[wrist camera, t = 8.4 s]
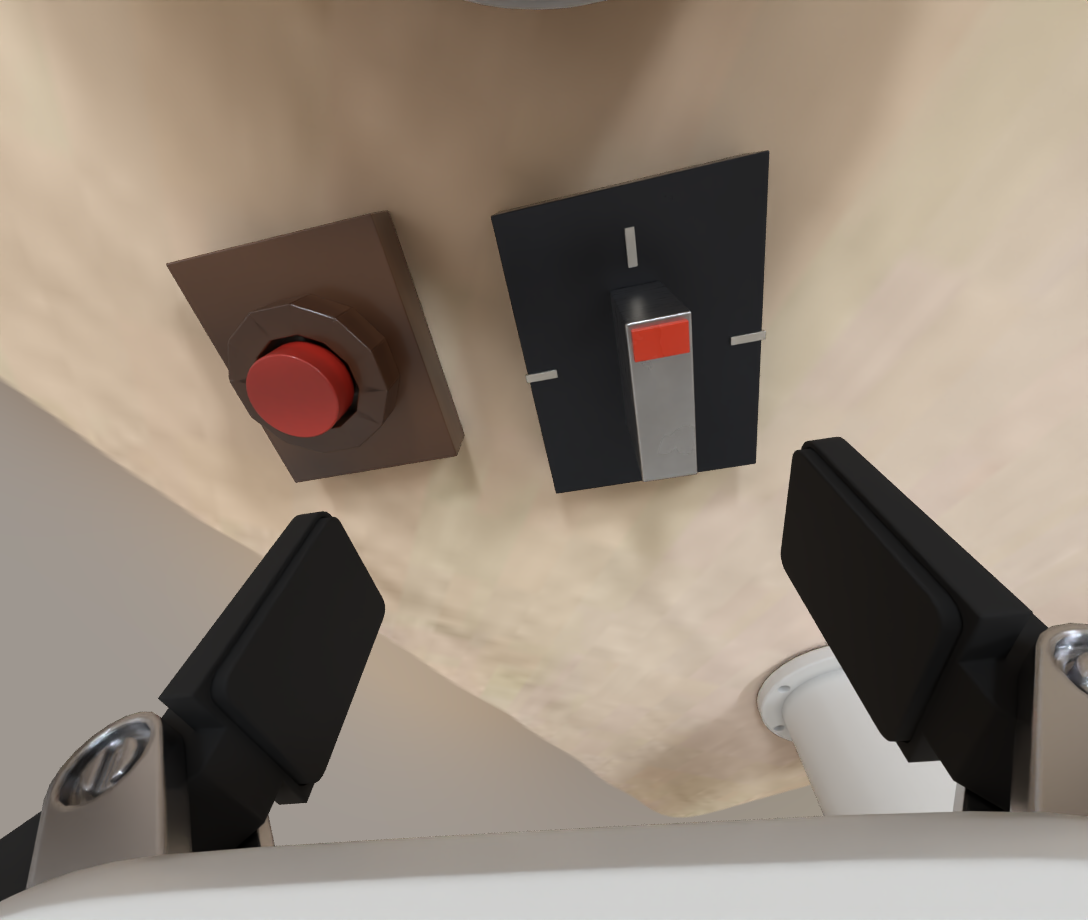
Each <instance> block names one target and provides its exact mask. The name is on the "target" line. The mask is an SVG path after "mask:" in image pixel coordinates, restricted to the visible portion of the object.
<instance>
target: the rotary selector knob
mask: <svg viewBox="0 0 1088 920" xmlns="http://www.w3.org/2000/svg"><path fill="white" fill-rule="evenodd" d="M610 298H611V306H612V313H613V321H614V329H615V337H616V345H617V353H618V361H619V369H620V377H621V385H622V393H623V401H624V409H625V417H626V423H627V427H628V430H629V434H630V438H631V441H632V445H633V448H634V452H635V455H636V459H637V463H638V466H639V470H640V473H641V477H642V480H643V482H647V481H654V480H661V479H667V478H674V477H681V476H687V475H694V474H697V456H696V429H695V402H694V375H693V347H692V320H691V311H690V310H689V309H688V308H687V307H686V306H685V305H684V304H683V303H682V302H681V301H680V300H678V299H677V298H676V297H675V296H674V295H673V294H672V293H671V292H670V291H669V290H668V289H667V288H666V287H665V286H664V285H663V284H662V283H661V282H660V281H655V282H650V283H646V284H641V285H636V286H631V287H626V288H621V289H617V290H612V291H610Z"/></svg>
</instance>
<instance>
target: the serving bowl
mask: <svg viewBox="0 0 1088 920" xmlns="http://www.w3.org/2000/svg"><path fill="white" fill-rule="evenodd" d="M465 1H469V2H473V3H477V4H482V5H487V6H494V7H500V8H510V9H531V10H541V9H559V8H570V7H576V6H582V5H587V4H592V3H597V2H602V1H606V0H465Z"/></svg>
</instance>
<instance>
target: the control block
mask: <svg viewBox="0 0 1088 920" xmlns="http://www.w3.org/2000/svg"><path fill="white" fill-rule="evenodd" d="M166 265H167V267H168V269H169V270H170V272H171V274H172V275H173V277H174V279H175V281H176V282H177V284H178V286H179V287H180V289H181V291H182V292H183V294H184V296H185V297H186V299H187V301H188V302H189V304H190V306H191V307H192V309H193V311H194V313H195V314H196V316H197V318H198V319H199V321H200V323H201V324H202V326H203V328H204V329H205V331H206V333H207V334H208V336H209V338H210V339H211V341H212V343H213V345H214V346H215V348H216V350H217V351H218V353H219V355H220V356H221V358H222V360H223V361H224V363H225V365H226V366H227V368H228V370H229V379H230V383H231V384H232V386H233V388H234V389H235V391H236V393H237V394H238V396H239V398H240V399H241V401H242V403H243V404H244V406H245V408H246V409H247V411H248V413H249V414H250V416H251V417H252V418H253V419H254V420H256V421H257V422H258V423H260V424H261V425H262V427H263V429H264V430H265V432H266V434H267V435H268V437H269V439H270V440H271V442H272V444H273V446H274V447H275V449H276V451H277V452H278V454H279V456H280V457H281V459H282V461H283V462H284V464H285V466H286V467H287V469H288V471H289V472H290V474H291V476H292V477H293V479H294V481H295V482H296V483H297V482H303V481H309V480H315V479H321V478H327V477H333V476H339V475H345V474H351V473H357V472H363V471H369V470H375V469H381V468H387V467H393V466H399V465H405V464H411V463H417V462H423V461H429V460H435V459H441V458H447V457H453V456H457V454H458V451H459V449H460V446H461V443H462V441H463V438H464V432H463V429H462V427H461V424H460V421H459V418H458V415H457V412H456V409H455V406H454V403H453V400H452V397H451V394H450V391H449V388H448V385H447V382H446V379H445V376H444V373H443V370H442V367H441V364H440V361H439V358H438V355H437V352H436V349H435V347H434V344H433V341H432V338H431V335H430V332H429V329H428V326H427V323H426V320H425V317H424V314H423V311H422V308H421V305H420V302H419V299H418V296H417V293H416V290H415V287H414V284H413V281H412V278H411V275H410V272H409V269H408V267H407V264H406V261H405V258H404V255H403V252H402V249H401V246H400V243H399V240H398V237H397V234H396V231H395V228H394V225H393V222H392V219H391V216H390V213H389V211H381V212H375V213H370V214H365V215H361V216H357V217H353V218H349V219H345V220H341V221H337V222H333V223H329V224H325V225H321V226H317V227H313V228H309V229H304V230H300V231H296V232H292V233H288V234H284V235H280V236H276V237H272V238H268V239H264V240H260V241H256V242H252V243H248V244H243V245H239V246H235V247H231V248H227V249H223V250H219V251H215V252H211V253H207V254H203V255H199V256H195V257H191V258H187V259H183V260H178V261H174V262H170V263H167V264H166ZM294 341H304V342H310V343H314V344H317V345H320V346H322V347H324V348H326V349H328V350H329V351H331V352H332V353H333V354H335V355H336V356H337V357H338V358H339V359H340V360H341V361H342V362H343V363H344V365H345V366H346V368H347V369H348V371H349V373H350V375H351V377H352V380H353V384H354V398H353V402H352V404H351V406H350V408H349V409H348V410H347V412H346V413H345V414H344V415H343V416H342V417H341V418H340V419H339V420H338V421H337V422H336V424H335V425H334V426H333V427H332V428H331V429H330V430H328V431H327V432H325V433H324V434H321V435H319V436H315V437H296V436H292V435H288V434H285V433H283V432H281V431H279V430H277V429H275V428H274V427H272V426H271V425H269V424H268V423H267V422H266V421H264V420H263V419H262V418H261V417H260V415H259V414H258V413H257V412H256V410H255V409H254V407H253V406H252V404H251V402H250V400H249V397H248V394H247V390H246V378H247V374H248V372H249V369H250V368H251V366H252V365H253V364H254V363H255V362H256V361H257V360H258V359H260V358H261V357H263V356H265V355H266V354H268V353H270V352H271V351H273V350H275V349H277V348H278V347H280V346H282V345H284V344H286V343H289V342H294Z"/></svg>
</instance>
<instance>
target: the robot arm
mask: <svg viewBox="0 0 1088 920" xmlns="http://www.w3.org/2000/svg"><path fill="white" fill-rule="evenodd" d="M781 560H782V564H783V567H784V569H785V571H786V573H787V575H788V576H789V578H790V580H791V582H792V583H793V585H794V587H795V588H796V590H797V592H798V594H799V595H800V597H801V599H802V601H803V602H804V604H805V606H806V607H807V609H808V611H809V613H810V614H811V616H812V618H813V619H814V621H815V623H816V625H817V626H818V628H819V630H820V631H821V633H822V635H823V637H824V638H825V640H826V642H827V643H828V645H829V646H825V647H822V648H819V649H815V650H812V651H809V652H807V653H805V654H802V655H800V656H797V657H796V658H794V659H792V660H790V661H788V662H787V663H785V664H783V665H782V666H781V667H779V668H778V669H777V670H775V671H774V672H773V673H772V674H771V675H770V676H769V677H768V678H767V679H766V681H765V682H764V683H763V685H762V687H761V689H760V690H759V693H758V697H757V705H758V710H759V712H760V715H761V718H762V720H763V722H764V724H765V725H766V726H767V728H768V729H769V730H770V731H772V732H773V733H774V734H776V735H778V736H780V737H782V738H784V739H786V740H789V741H792V742H793V743H794V745H795V748H796V750H797V753H798V755H799V757H800V760H801V762H802V765H803V767H804V769H805V772H806V774H807V777H808V779H809V781H810V784H811V786H812V788H813V791H814V793H815V796H816V798H817V800H818V803H819V805H820V807H821V810H822V812H823V815H824V816H813V817H795V818H794V817H793V818H774V819H753V820H735V821H734V820H733V821H713V822H693V823H674V824H653V825H634V826H616V827H597V828H581V829H580V828H579V829H560V830H542V831H526V832H506V833H488V834H473V835H472V834H471V835H452V836H435V837H418V838H403V839H402V838H401V839H384V840H368V841H351V842H335V843H318V844H303V845H285V846H275V845H274V840H273V835H272V830H271V826H270V821H269V816H268V814H269V812H270V809H271V807H272V805H273V803H274V801H276V802H277V803H278V804H279V805H281V804H295V803H307V801H308V798H309V796H310V793H311V790H312V788H313V785H314V783H316V782H318V781H319V780H320V779H321V777H322V776H323V774H324V772H325V770H326V767H327V765H328V762H329V759H330V757H331V754H332V752H333V749H334V746H335V743H336V741H337V738H338V736H339V733H340V730H341V728H342V725H343V723H344V720H345V717H346V715H347V712H348V710H349V707H350V704H351V702H352V699H353V696H354V694H355V691H356V689H357V686H358V683H359V681H360V678H361V675H362V673H363V670H364V668H365V665H366V662H367V660H368V657H369V654H370V652H371V649H372V646H373V644H374V641H375V639H376V636H377V633H378V631H379V628H380V626H381V623H382V620H383V618H384V614H385V604H384V600H383V598H382V596H381V594H380V593H379V591H378V589H377V587H376V585H375V584H374V582H373V580H372V578H371V576H370V575H369V573H368V571H367V569H366V567H365V566H364V564H363V562H362V560H361V558H360V557H359V555H358V553H357V551H356V549H355V548H354V546H353V544H352V542H351V540H350V539H349V537H348V535H347V533H346V531H345V530H344V528H343V526H342V524H341V522H340V521H339V520H338V519H337V518H336V517H332V516H331V515H330V514H329V513H327V512H324V511H322V512H315V513H308V514H302V515H298V516H296V517H295V518H294V519H293V520H292V521H291V522H290V523H289V525H288V526H287V527H286V529H285V530H284V531H283V533H282V534H281V535H280V537H279V538H278V539H277V541H276V542H275V543H274V545H273V546H272V547H271V549H270V550H269V551H268V553H267V554H266V555H265V557H264V558H263V559H262V561H261V562H260V563H259V565H258V566H257V567H256V569H255V570H254V572H253V573H252V574H251V575H250V577H249V578H248V579H247V581H246V582H245V583H244V585H243V586H242V588H241V589H240V590H239V591H238V593H237V594H236V595H235V597H234V598H233V599H232V601H231V602H230V603H229V605H228V606H227V607H226V609H225V610H224V611H223V613H222V614H221V615H220V617H219V618H218V619H217V621H216V622H215V623H214V625H213V626H212V627H211V629H210V630H209V631H208V633H207V634H206V635H205V637H204V638H203V639H202V641H201V642H200V643H199V645H198V646H197V647H196V649H195V650H194V651H193V653H192V654H191V655H190V657H189V658H188V659H187V661H186V662H185V663H184V664H183V666H182V667H181V669H180V670H179V671H178V673H177V674H176V675H175V677H174V678H173V679H172V680H171V682H170V683H169V684H168V686H167V687H166V688H165V690H164V691H163V693H162V694H161V695H160V696H159V698H158V699H159V700H160V701H161V702H163V703H164V704H165V705H166V706H167V707H168V708H169V709H168V710H167V711H166V713H165V714H164V715H163V717H162V718H161V717H159V716H158V715H156V714H155V713H153V712H138V713H135V714H132V715H129V716H125V717H123V718H121V719H119V720H117V721H115V722H114V723H112V724H110V725H108V726H107V727H105V728H104V729H102V730H101V731H100V732H98V733H97V734H95V735H94V736H92V737H91V738H90V739H89V740H88V741H87V742H85V743H84V744H83V745H82V746H81V747H80V748H79V749H78V750H77V751H75V752H74V754H73V755H72V756H71V757H70V758H69V759H68V760H67V761H66V763H65V764H64V765H63V766H62V767H61V768H60V770H59V771H58V773H57V774H56V776H55V777H54V779H53V780H52V782H51V784H50V785H49V788H48V791H47V794H46V796H45V798H44V802H43V807H42V811H41V812H40V813H38V814H36V815H35V816H34V817H32V818H31V819H29V820H28V821H26V822H25V823H23V824H22V825H21V826H19V827H18V828H16V829H15V830H13V831H12V832H10V833H9V834H7V835H6V836H5V837H3V838H2V839H0V920H1088V624H1077V623H1068V624H1062V625H1056V626H1051V627H1050V628H1048V627H1047V626H1046V625H1045V624H1044V623H1042V622H1041V621H1040V620H1039V619H1038V618H1037V617H1036V616H1035V615H1034V614H1033V613H1032V611H1031V610H1030V609H1029V608H1028V607H1027V606H1026V605H1025V604H1023V603H1022V602H1021V601H1020V600H1019V599H1018V598H1017V597H1016V596H1015V595H1014V594H1013V593H1011V592H1010V591H1009V590H1008V589H1007V588H1006V587H1005V586H1004V585H1003V584H1002V583H1000V582H999V581H998V580H997V579H996V578H995V577H994V576H993V575H992V574H991V573H990V572H988V571H987V570H986V569H985V568H984V567H983V566H982V565H981V564H980V563H979V562H978V561H976V560H975V559H974V558H973V557H972V556H971V555H970V554H969V553H968V552H967V551H966V550H964V549H963V548H962V547H961V546H960V545H959V544H958V543H957V542H956V541H955V540H954V539H952V538H951V537H950V536H949V535H948V534H947V533H946V532H945V531H944V530H943V529H942V528H940V527H939V526H938V525H937V524H936V523H935V522H934V521H933V520H932V519H931V518H930V517H928V516H927V515H926V514H925V513H924V512H923V511H922V510H921V509H920V508H919V507H918V506H916V505H915V504H914V503H913V502H912V501H911V500H910V499H909V498H908V497H907V496H905V495H904V494H903V493H902V492H901V491H900V490H899V489H898V488H897V487H896V486H895V485H893V484H892V483H891V482H890V481H889V480H888V479H887V478H886V477H885V476H884V475H883V474H881V473H880V472H879V471H878V470H877V469H876V468H875V467H874V466H873V465H872V464H871V463H869V462H868V461H867V460H866V459H865V458H864V457H863V456H862V455H861V454H860V453H859V452H857V451H856V450H855V449H854V448H853V447H852V446H851V445H850V444H849V443H848V442H847V441H845V440H844V439H843V438H841V437H832V438H826V439H819V440H812V441H807V442H805V443H804V444H803V446H802V449H801V450H797V451H795V452H794V454H793V457H792V465H791V473H790V481H789V489H788V497H787V505H786V513H785V521H784V530H783V538H782V546H781Z"/></svg>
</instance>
